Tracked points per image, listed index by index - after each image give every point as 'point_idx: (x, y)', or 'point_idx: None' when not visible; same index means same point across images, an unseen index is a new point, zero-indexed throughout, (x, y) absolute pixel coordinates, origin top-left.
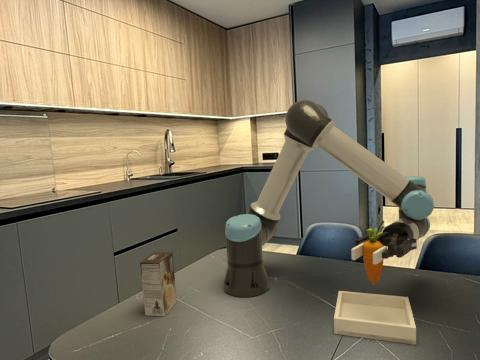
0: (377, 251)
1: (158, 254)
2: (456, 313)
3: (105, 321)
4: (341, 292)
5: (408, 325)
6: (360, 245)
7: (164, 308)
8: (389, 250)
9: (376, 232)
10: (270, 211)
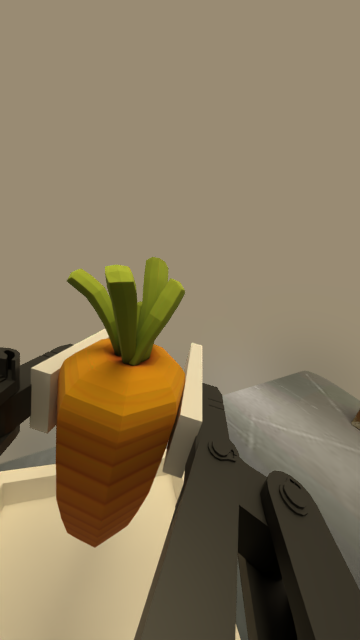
0: None
1: None
2: None
3: (353, 401)
4: None
5: (11, 479)
6: (191, 372)
7: (356, 417)
8: (28, 367)
9: (113, 304)
10: None
